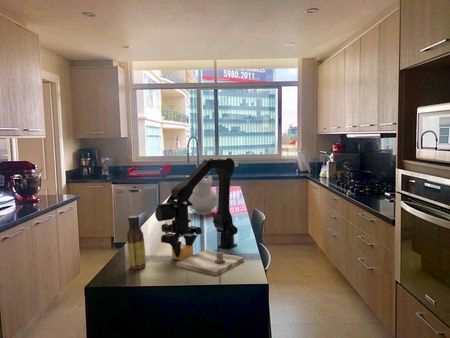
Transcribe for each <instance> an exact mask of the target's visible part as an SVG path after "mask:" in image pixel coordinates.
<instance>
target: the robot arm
mask: <svg viewBox="0 0 450 338" xmlns="http://www.w3.org/2000/svg"><path fill="white" fill-rule="evenodd" d="M212 169H215V172H216V174H217V176H218V203H217V207H218V208H217V211H216V213H214V214H213V213H212V214H213V217H212V218H213V220H212V224H213V226H214V227H215V228H216V231H217V232H218V233H219V236H220V237H219V245H217V247H218V248H222V249H228V250H230V249H232V248H235V247H236V246H238V243H235V235H237V234H238V231H239V229H238V228H237V226H236V225H235V224H233V223H234V222H233V216H232V214H231V211H230V197H231V196H230V195H231V192H230V191H231V178H232V175H233V174H234V171H235V161H234V160H233V159H232V158H231V157H219V158H218V159H213V158H205V159H203V160H202V162H201V163H200V164H199V165H198V167H197V168H196V169H195V170H194V171H193V172H192V173H191V174H190V175H189V176H188V177H187V178H186V179H185V180H184V181H181V182H180V183H179V184H177V185H175V186H174V187H173V188H172V189H171V191H170V195H169V197H168V198H167V199H166V202H165V203H157V207H156V208H155V212H154V215H155V219H156V220H157V221H158V222H164V221H170V220H172V221H171V224H168V223H162V224H161V232H162V233H165V234H162V235H161V236H160V241H161V243H164V244H168V245H170V246H171V249H172V248H173V250H174V253H175V255H176V257H179V254H180V248H181V244H182V241H181V240H180V238H184V242H185V245H190V246H193V245H194V243H195V240H196V239H197V238H198V236H199V235H201V234H202V228H201V227H200V226H195V225H191V226H190V225H189V223H191V219H189V207H190V206H192V205H193V204H192V203H191V202H190V201H189V200H188V199H189V198H190V196H191V195H192V193H193V191H194V188H195V186H196V185H197V184H198V183H199V182H200V181H201V180H202V179H203V178H206V177H205V176H206V175H208V173H210V171H211V170H212Z"/></svg>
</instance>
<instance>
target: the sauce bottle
mask: <svg viewBox="0 0 450 338" xmlns="http://www.w3.org/2000/svg"><path fill="white" fill-rule="evenodd" d="M127 221H128V226H129V227H128V231H127V232H126V233H127V234H126V238H127V240H126V241H127V243H126V244H127V251H128V253H127V254H128V263H129V264H128V265H129V267H130V269H131V270H136V271H137V270H141V269H144V268H145V267H147V263H146V261H147V260H146V257H147V256H146V247H145V238H144V232H143V230H142V229H141V227H140V216H139V215H130V216H128V217H127Z"/></svg>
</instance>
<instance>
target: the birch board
mask: <svg viewBox="0 0 450 338" xmlns="http://www.w3.org/2000/svg"><path fill="white" fill-rule="evenodd" d="M244 262H245V258H244V257H243V256H237V255H233V254H228V253H224V252H222V251H212V250H207V249H205V250H203V251H200V252H198V253H195V254H193V256H190V257H188V258H186V259H183V260H178V261H177V262H176V267H179V268H184V269H188V270H192V271H195V272H200V273H204V274H207V275H211V276H218V275H219V276H220V275H221V274H222V273H224V272H226V271H228V270H230V269H232V268H234V267H236V266H238V265H240V264H241V263H244Z"/></svg>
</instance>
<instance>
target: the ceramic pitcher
mask: <svg viewBox="0 0 450 338" xmlns="http://www.w3.org/2000/svg"><path fill="white" fill-rule="evenodd" d="M207 175H208V174H207ZM213 181H214V180H213V176H212V175H208V176H207V178H206V177H204V178H203V179H202V180H201V181H200V182H199V183H198V184H197V185H196V186H195V188H194V190H193V193H192V195H191V196H190V198H189V199H188V200H189V201H190V202H191V203H192V204H193V205H192V206H189V208H191V209H192V210H193V211H195V212H194V214H196V215H197V216H198V215H200V216H201V215H203V216H205V215H211V214H213V211H212V210H214V209H215V208H216V207H217V206H218V198H219V196H218V195H217V193H215V192H213V190H212V185H213Z"/></svg>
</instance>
